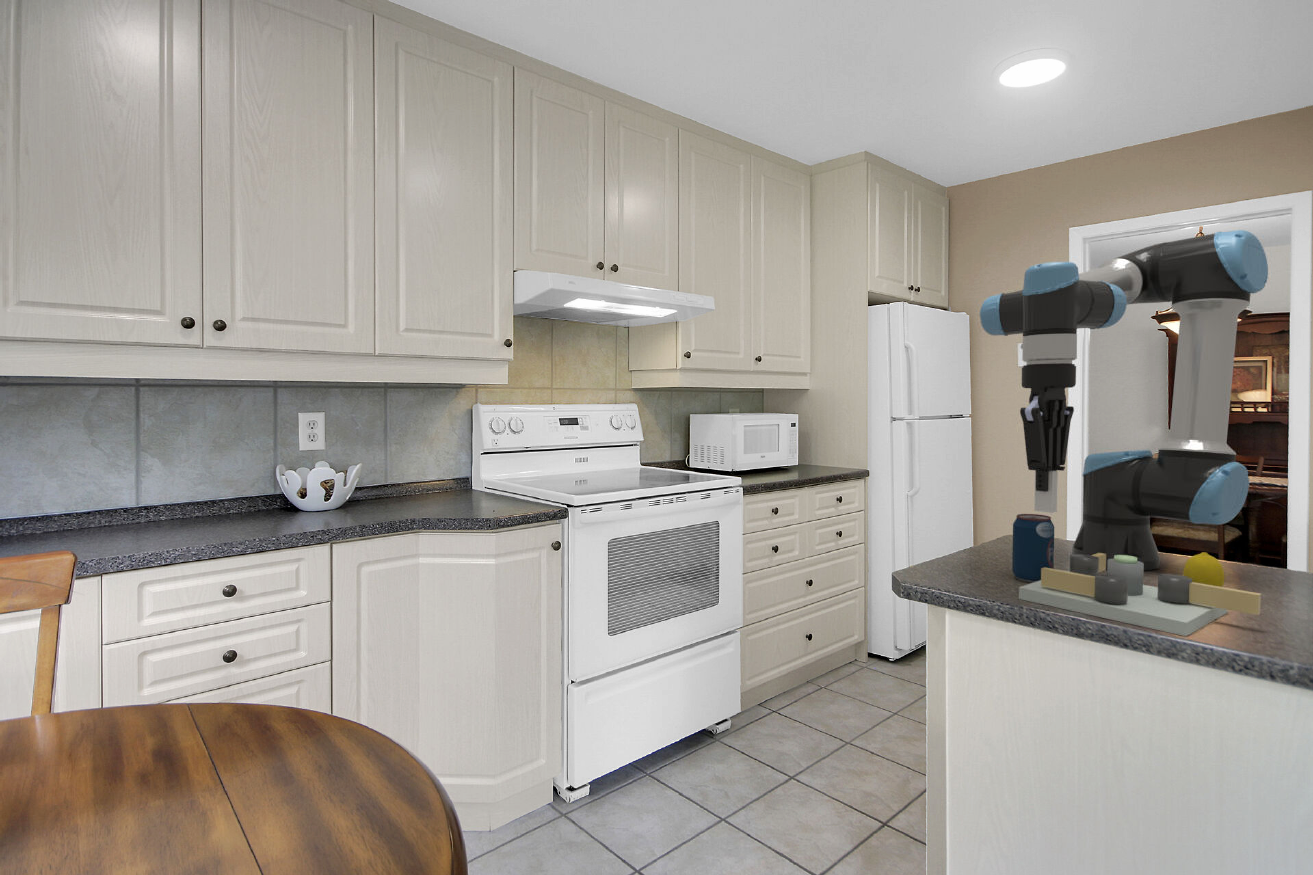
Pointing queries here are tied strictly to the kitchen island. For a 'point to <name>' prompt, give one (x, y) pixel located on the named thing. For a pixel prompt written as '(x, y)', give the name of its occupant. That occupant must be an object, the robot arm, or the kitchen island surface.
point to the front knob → (1087, 584)
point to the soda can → (1032, 546)
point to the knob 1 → (1088, 563)
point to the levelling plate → (1129, 602)
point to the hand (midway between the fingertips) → (1045, 511)
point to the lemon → (1204, 570)
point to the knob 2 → (1206, 594)
